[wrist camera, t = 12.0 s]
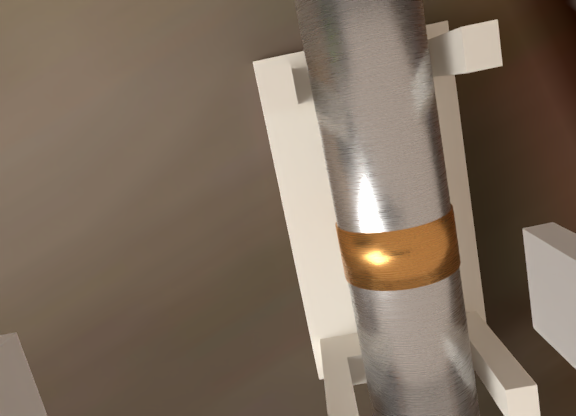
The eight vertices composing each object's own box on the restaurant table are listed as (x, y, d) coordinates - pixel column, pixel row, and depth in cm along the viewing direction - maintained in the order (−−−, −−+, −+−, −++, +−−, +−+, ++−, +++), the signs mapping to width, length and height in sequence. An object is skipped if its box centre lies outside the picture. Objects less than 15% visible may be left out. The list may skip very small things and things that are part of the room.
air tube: (296, 11, 28) (287, -8, 22) (410, -15, 28) (432, -42, 22) (374, 421, 34) (384, 493, 28) (470, 408, 33) (501, 480, 27)
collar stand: (253, 62, 33) (236, 50, 23) (443, 22, 32) (509, -8, 22) (318, 372, 37) (327, 471, 28) (484, 342, 37) (553, 433, 27)
